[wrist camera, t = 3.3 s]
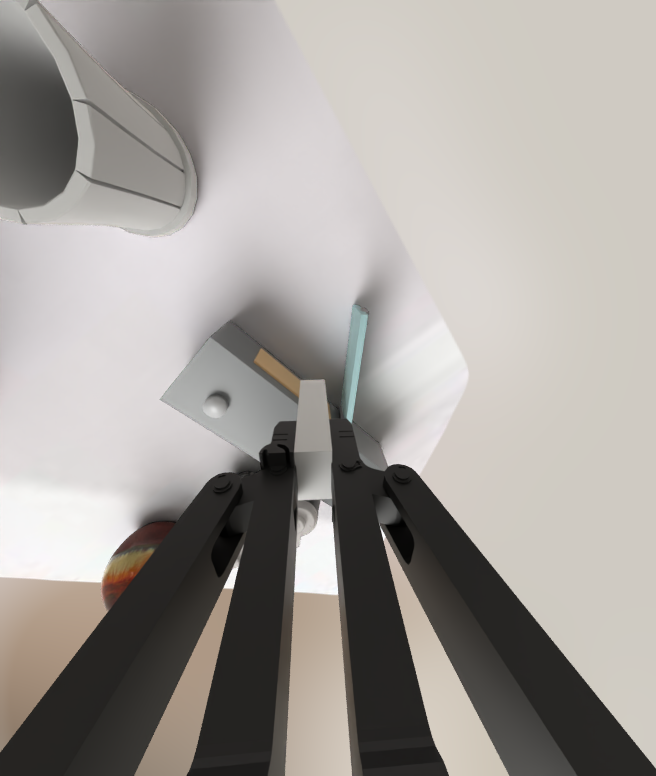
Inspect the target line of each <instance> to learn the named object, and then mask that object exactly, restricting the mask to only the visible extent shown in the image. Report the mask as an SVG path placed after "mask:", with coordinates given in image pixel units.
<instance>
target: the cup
mask: <svg viewBox="0 0 656 776" xmlns="http://www.w3.org/2000/svg"><path fill="white" fill-rule="evenodd" d="M196 200H197V176H196V172H195V168H194V165H193V161H192V158H191V154H190V153H189V151H188V149H187V147H186V145H185V144H184V142H183V140H182V138H181V136H180V134H179V133H178V132H177V131H176V129H175V128H174V127H173V126H172V125H171V124H170V123H169V122H168V120H167V119H166V118H165V117H164V116H163V115H162V114H161V113H160V112H159V111H158V110H157V109H156V108H155V107H154V106H152V105H151V104H149V103H148V102H146V101H145V100H143V99H142V98H140V97H139V96H137V95H136V94H134V93H132V92H129V91H127V90H126V89H124V88H123V87H122V86H121V85H120V84H119V83H118V82H117V81H116V80H115V79H114V78H113V77H112V76H111V75H110V74H108V73H107V72H106V71H105V70H104V69H103V67H102V66H101V65H100V64H99V63H98V62H97V61H96V60H95V59H94V58H93V57H92V56H91V55H90V54H89V53H88V52H87V51H86V50H85V49H84V48H83V47H82V46H81V45H80V44H79V43H78V42H77V41H76V40H75V39H74V38H73V37H72V36H71V35H70V34H69V33H68V32H67V31H66V30H65V28H64V27H63V26H62V25H61V24H60V23H59V22H58V21H57V20H56V19H55V18H54V17H53V16H52V15H51V14H50V13H49V12H48V10H47V9H46V8H45V7H44V6H43V5H42V4H41V3H40V2H39V1H38V0H0V220H5V221H10V222H15V223H20V224H30V225H95V226H112V227H119V228H121V229H123V230H125V231H127V232H128V233H132V234H137V235H142V236H146V237H162V236H169V235H171V234H173V233H175V232H177V231H178V230H180V229H182V228H183V227H184V226H185V224H186V223H187V222H188V220H189V219H190V217H191V216H192V215H193V211H194V208H195V204H196Z"/></svg>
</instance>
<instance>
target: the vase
mask: <svg viewBox="0 0 656 776" xmlns="http://www.w3.org/2000/svg"><path fill="white" fill-rule="evenodd" d="M175 524H176V523H173V522H166V521H162V522H155V523H151V524H148V525H146V526H144V527H142V528H140V529H138V530H137V531H135V532H134V533H133V534H131V535H130V536H129V537H128V538H127V539H126V540H125V541H124V542H123V543H122V544H121V545H120V547H119V548H118V549H117V550H116V551H115V553H114V554H113V556H112V557H111V559H110V561H109V562H108V564H107V566H106V569H105V571H104V574H103V577H102V582H101V597H102V601H103V604H104V607H105V608H106V610H107V611H109V610H110V609H111V607H112V606H113V605H114V603H115V602H116V601H117V599H118V598H119V597H120V596H121V594H122V593H123V592H124V590H125V589H126V588H127V586H128V585H129V584H130V582H131V581H132V580H133V579H134V577H135V576H136V575H137V573H138V572H139V571H140V569H141V568H142V567H143V565H144V564H145V563H146V562H147V560H148V559H149V558H150V556H151V555H152V554H153V552H154V551H155V550H156V548H157V547H158V546H159V545H160V543H161V542H162V541H163V539H164V538H165V537H166V535H167V534H168V533H169V531H170V530H171V529H172V528H173V526H174V525H175Z"/></svg>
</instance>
